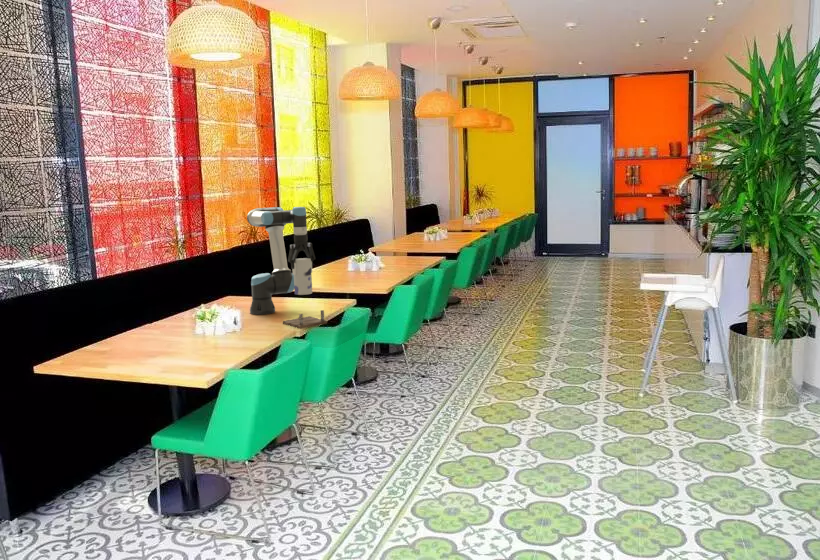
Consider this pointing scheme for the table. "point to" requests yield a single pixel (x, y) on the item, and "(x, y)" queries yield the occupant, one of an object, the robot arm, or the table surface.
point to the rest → (306, 321)
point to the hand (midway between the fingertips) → (302, 273)
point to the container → (303, 277)
